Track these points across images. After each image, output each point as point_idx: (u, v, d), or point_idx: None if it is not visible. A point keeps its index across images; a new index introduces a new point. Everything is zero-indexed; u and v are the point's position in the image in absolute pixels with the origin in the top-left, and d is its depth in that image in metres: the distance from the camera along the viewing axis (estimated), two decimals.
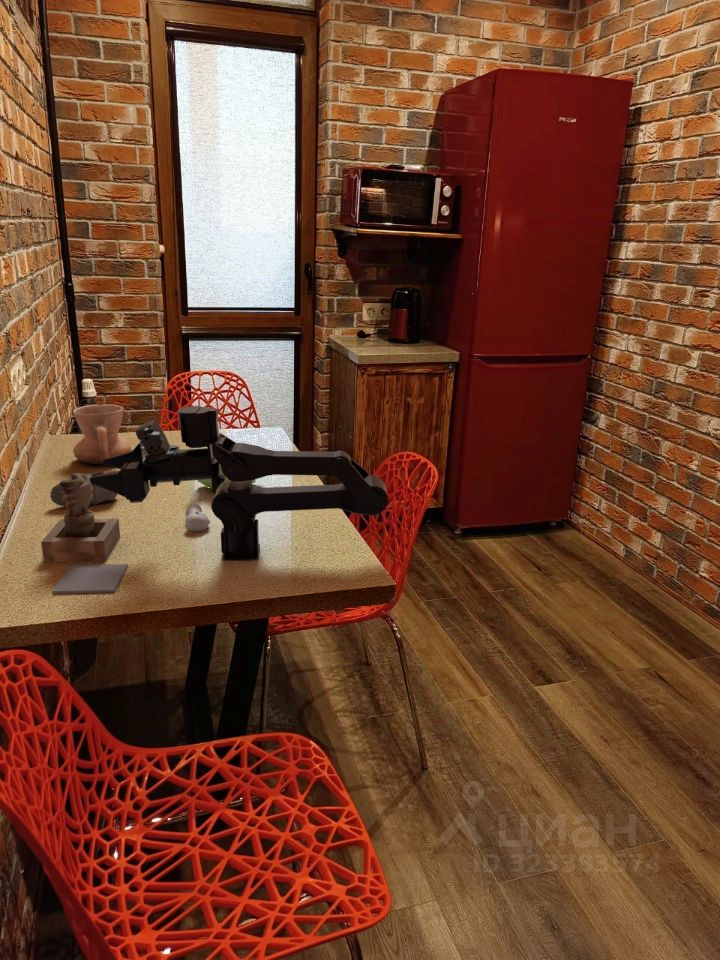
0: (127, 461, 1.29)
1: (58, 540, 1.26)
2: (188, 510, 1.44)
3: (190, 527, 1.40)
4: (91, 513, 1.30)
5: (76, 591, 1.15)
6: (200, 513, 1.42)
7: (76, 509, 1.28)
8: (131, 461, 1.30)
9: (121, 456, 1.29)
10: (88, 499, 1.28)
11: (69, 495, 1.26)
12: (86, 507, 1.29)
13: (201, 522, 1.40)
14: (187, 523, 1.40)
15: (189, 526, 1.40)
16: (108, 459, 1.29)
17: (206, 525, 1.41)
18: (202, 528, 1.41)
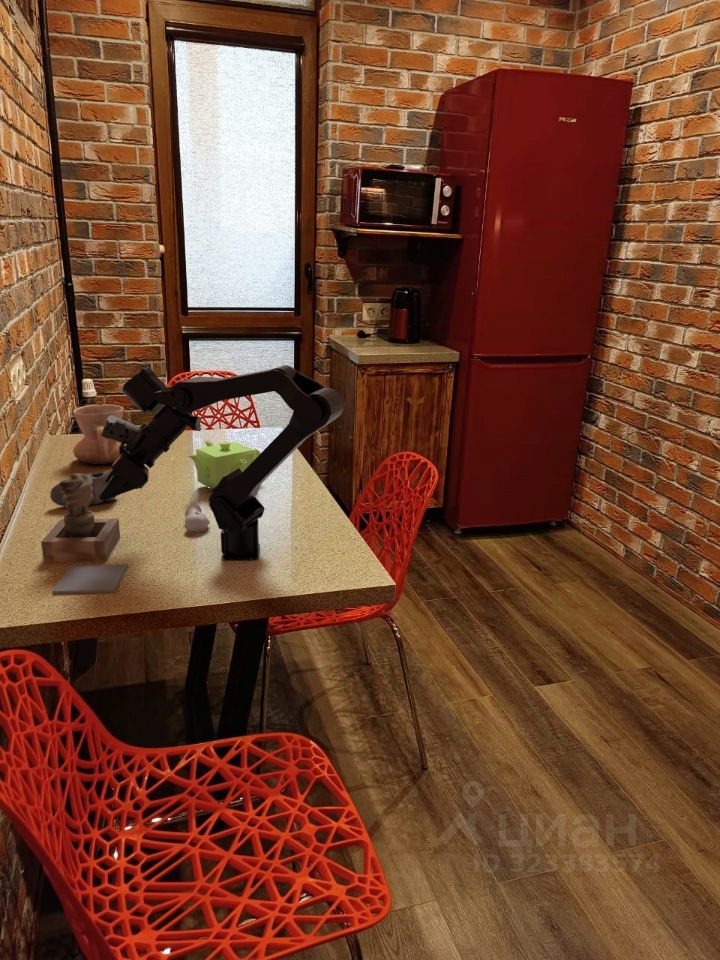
0: None
1: (58, 540, 1.26)
2: (188, 510, 1.44)
3: (190, 527, 1.40)
4: (91, 513, 1.30)
5: (76, 591, 1.15)
6: (200, 513, 1.42)
7: (76, 509, 1.28)
8: None
9: None
10: (88, 499, 1.28)
11: (69, 495, 1.26)
12: (86, 507, 1.29)
13: (200, 522, 1.40)
14: (187, 523, 1.40)
15: (189, 526, 1.40)
16: (108, 477, 1.33)
17: (206, 525, 1.41)
18: (202, 528, 1.41)
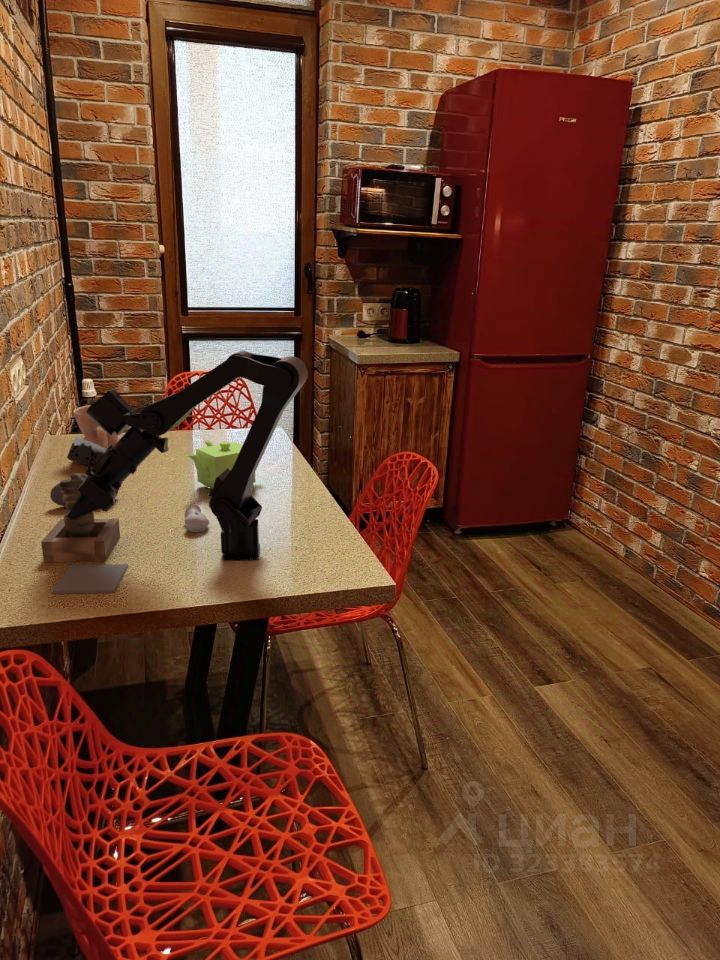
0: None
1: (58, 540, 1.26)
2: (187, 511, 1.44)
3: (190, 528, 1.40)
4: (91, 513, 1.30)
5: (76, 591, 1.15)
6: (199, 513, 1.42)
7: None
8: None
9: None
10: None
11: (69, 495, 1.26)
12: None
13: (200, 522, 1.40)
14: (187, 524, 1.40)
15: (189, 527, 1.40)
16: None
17: (206, 525, 1.41)
18: (202, 528, 1.41)
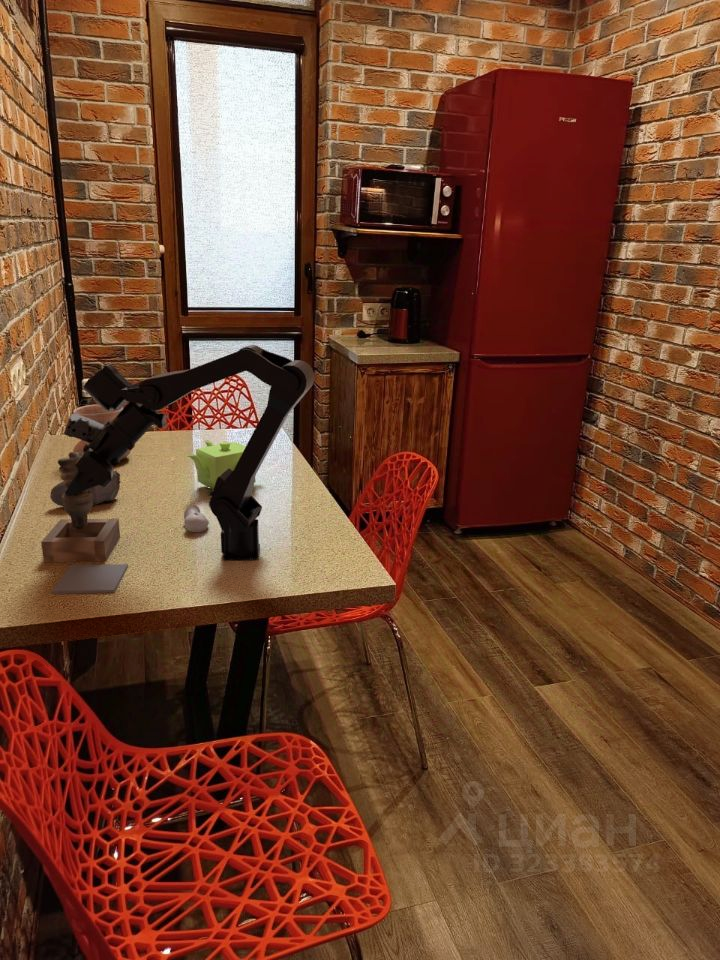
0: None
1: (58, 540, 1.26)
2: (186, 511, 1.44)
3: (189, 528, 1.39)
4: (89, 492, 1.29)
5: (76, 591, 1.15)
6: (199, 514, 1.42)
7: None
8: None
9: None
10: None
11: (67, 474, 1.25)
12: None
13: (200, 522, 1.40)
14: (186, 524, 1.39)
15: (188, 527, 1.39)
16: None
17: (205, 526, 1.41)
18: (201, 529, 1.40)
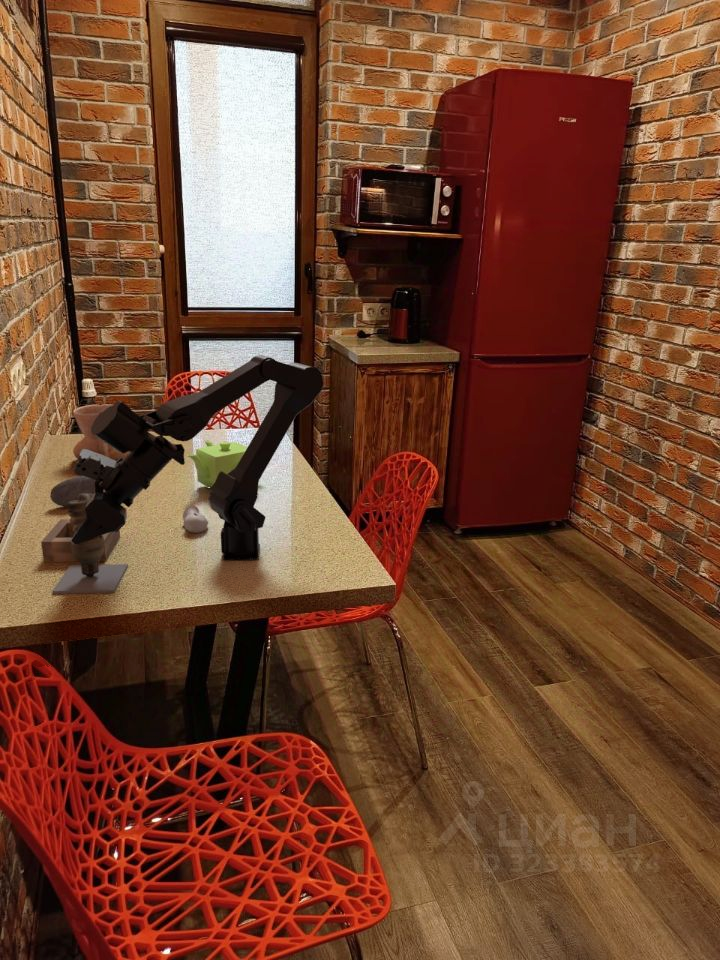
0: None
1: (58, 540, 1.26)
2: (185, 512, 1.44)
3: (189, 529, 1.39)
4: (101, 537, 1.18)
5: (76, 591, 1.15)
6: (198, 514, 1.41)
7: None
8: None
9: None
10: None
11: (77, 518, 1.14)
12: None
13: (200, 523, 1.40)
14: (186, 525, 1.39)
15: (188, 528, 1.39)
16: None
17: (205, 526, 1.41)
18: (201, 529, 1.40)
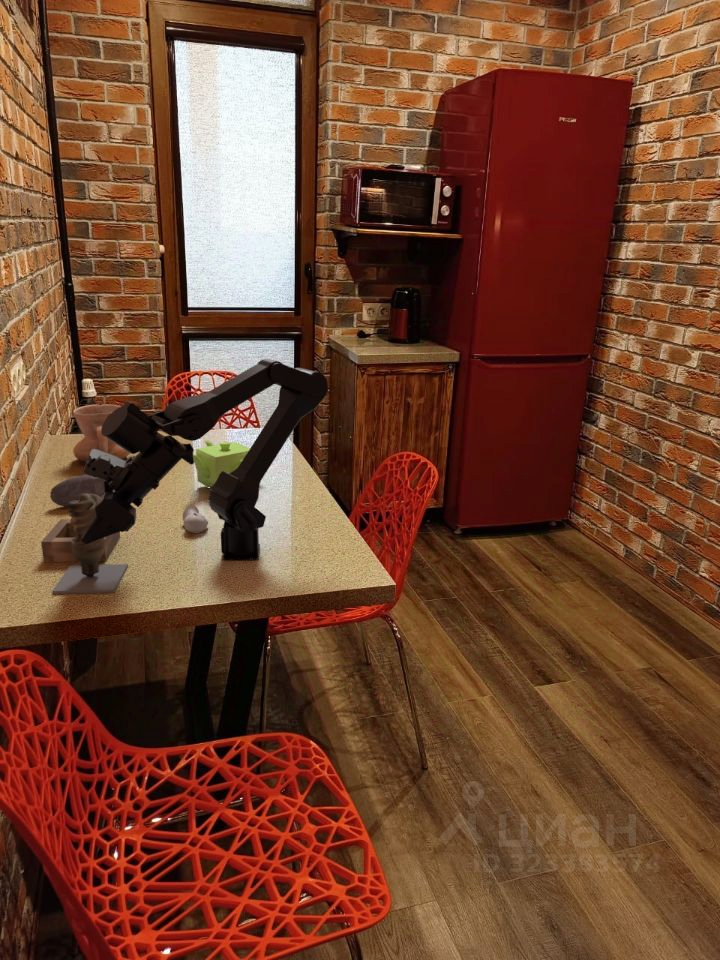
0: None
1: (58, 540, 1.26)
2: (185, 512, 1.43)
3: (189, 529, 1.39)
4: None
5: (76, 591, 1.15)
6: (198, 514, 1.41)
7: None
8: None
9: None
10: None
11: (78, 518, 1.14)
12: None
13: (200, 523, 1.39)
14: (186, 525, 1.39)
15: (188, 528, 1.39)
16: None
17: (205, 526, 1.41)
18: (201, 529, 1.40)
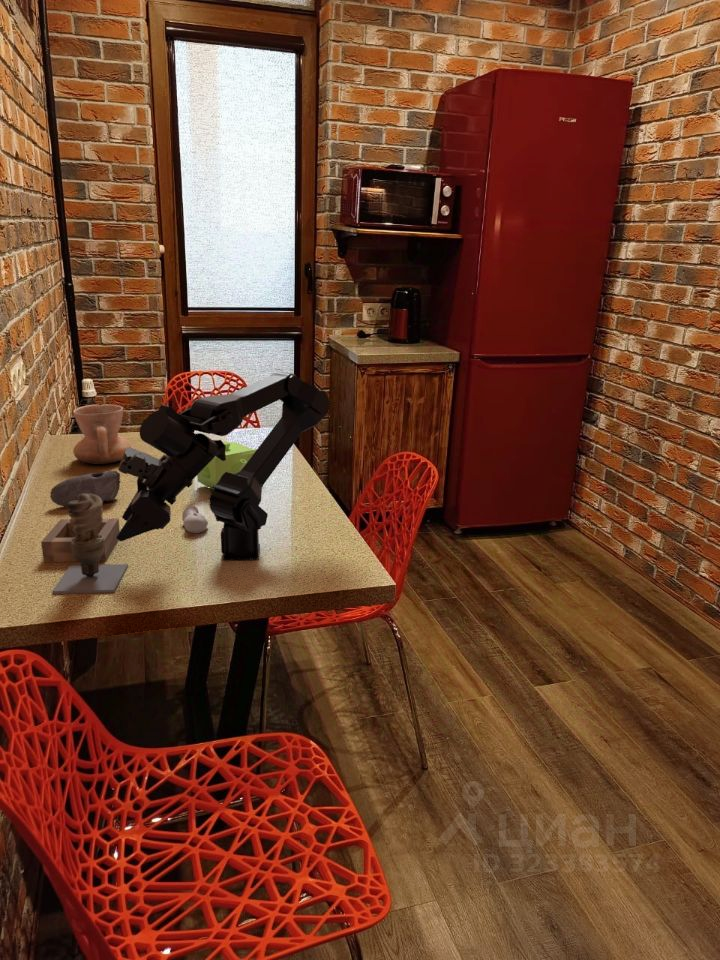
0: None
1: (58, 540, 1.26)
2: (185, 512, 1.43)
3: (189, 529, 1.39)
4: (101, 537, 1.18)
5: (76, 591, 1.15)
6: (198, 514, 1.41)
7: (85, 533, 1.16)
8: None
9: None
10: (98, 522, 1.16)
11: (77, 518, 1.14)
12: (95, 531, 1.18)
13: (200, 523, 1.39)
14: (186, 525, 1.39)
15: (188, 528, 1.39)
16: (125, 513, 1.23)
17: (205, 526, 1.41)
18: (201, 529, 1.40)
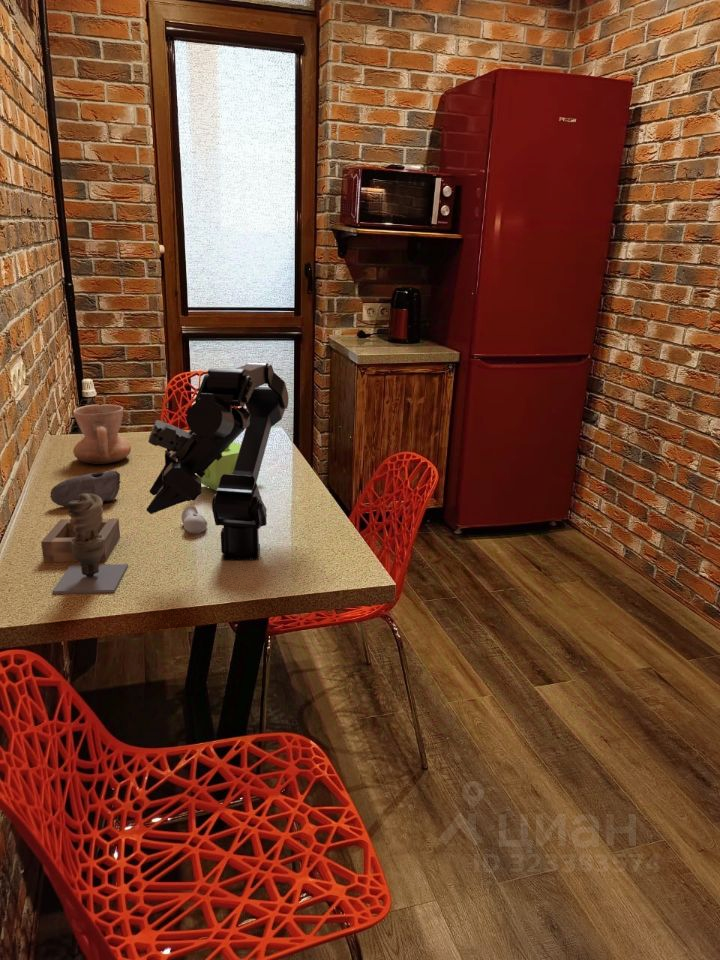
0: None
1: (58, 540, 1.26)
2: (184, 512, 1.43)
3: (189, 529, 1.39)
4: (101, 537, 1.18)
5: (76, 591, 1.15)
6: (198, 515, 1.41)
7: (85, 533, 1.16)
8: None
9: (160, 476, 1.22)
10: (98, 522, 1.16)
11: (77, 518, 1.14)
12: (96, 530, 1.18)
13: (199, 523, 1.39)
14: (186, 525, 1.39)
15: (188, 528, 1.39)
16: (153, 487, 1.22)
17: (205, 527, 1.41)
18: (201, 530, 1.40)
